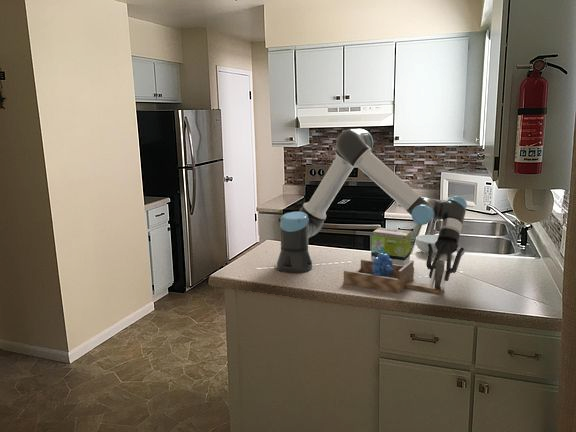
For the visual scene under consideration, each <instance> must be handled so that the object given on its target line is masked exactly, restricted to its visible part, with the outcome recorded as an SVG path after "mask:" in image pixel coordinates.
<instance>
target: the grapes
mask: <svg viewBox="0 0 576 432" xmlns="http://www.w3.org/2000/svg"><path fill="white" fill-rule="evenodd" d="M373 262H374V264H375V265H373V266H372V270H373V272H375V273H374V274H373V275H377V276H383V277H389V278H391V276H390V275H389V274H391V273H392V272H393V269H392V267H391V266H392V264H393V262H392V260H391V259H390V257H389V255H388V254H383V253H379V254H378V257H376V258H374V260H373Z"/></svg>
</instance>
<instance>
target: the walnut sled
mask: <svg viewBox="0 0 576 432" xmlns="http://www.w3.org/2000/svg"><path fill="white" fill-rule="evenodd" d="M373 265H375V264H374V262H373V261H371V260H367V259H360V268H359V269H357V270H356V271H353V270H345V269H344V270H343V284H346V285H352V286H357V287H362V288H367V289H374V290H380V291H384V292H391V293H396V294H400V293H401V292H402V291H403V290H404V289H410V290H411V289H412V290H418V291H421V292H422V291H423V292H428V293H434V294H440V295H442V294H443V292H445V288H444V289H443V290H441V288H440V284H441V280H442V276H443V272H444V270H445V260H441V259H440V260H437V261H436V271H435V281H434V285H433V288H431V287H430V283H426V282H425V283H423V282H417V281H413V280H414V276H415V275H414V274H415V267H414V265H415V264H414V260H413V259H410V262H408V263H407V264H406V265H405V266H402V265H396V264H392V266H391V267H392V269H393V272H392V273H391V274H389V275H390V278H389V277H383V276H377V275H374V273H375V272H373V270H372V266H373Z"/></svg>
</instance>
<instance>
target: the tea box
mask: <svg viewBox="0 0 576 432" xmlns="http://www.w3.org/2000/svg"><path fill="white" fill-rule="evenodd" d="M411 241H412V230H404V229H396V228H395V229H394V228H384V227H378V228H376V229H375V230H374V231H372V232H371V247H370V248H371V250H370V252H371V253H370V261H373V260H374V258H376V257H378V254H379V253H383V254H388V255H389V257H390V259H391V260H392V262H393V264H396V265H402V266H405V265H406V264H407V263H408V262H410V261H411V244H412V242H411Z"/></svg>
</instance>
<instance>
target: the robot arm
mask: <svg viewBox="0 0 576 432" xmlns="http://www.w3.org/2000/svg"><path fill="white" fill-rule="evenodd" d="M335 142H336V143H335V146H336V149H335V159H334V160H333V162H332V163H331V165H330V166H329V168H328V170H327V171H326V173H325V175H324V176H323V178H322V180H321V182H320V183H319V185H318V187H317V188H316V189H315V191H314V193H313V195H312V196H311V198H310V199H309V201H307V202H304V203H303V204H302V206H301V207H300V209H299V211H291V212H285V213H284V214H282V215H281V217H280V222H279V224H280V225H279V226H280V252H279V256H278V258H277V260H276V261H277V262H276V269H277V271H279V272H282V273H288V274H301V273H308V272H310V271H311V270H312V269H313V261H312V258H311V255H310V252H309V239H310V238H312V237H313V236H316V235H317V234H318V233H320V231H322V228H323V226H324V222H325V221H326V219H327V213H326V212H327V210H328V209H329V207H330V206H331V204H332V202H333V201H334V200H335V198H336V196H337V194H338V193H339V191H341V188H342V187H343V185H344V184H345V182H346V180H347V179H348V177H349V175H350V174H351V172H352V171H353V169H354V168H358V169H359V170H360V171H362V173H364V174H365V175H366V176H367V177H368V178H369V179H370V180H372V181H373V182H374V184H376V185H377V186H378V187H379V188H380V189H381V190H383V192H385V193H386V194H387V195H388V196H390V198H391V199H393V200H394V201H395V202H396V203H397V204H398V205H399V206H400V207H401V208H402V209H404V210H405V211H406V212H407V213H408V214H409V215H410V216H411V219H412V220H413V222H414V223H415V224H416V225H420V226H424V225H427V224H429V223H431V222H432V221H433V219H436V220H437V219H438V220H441V225H440V229H439V233H438V239H437V241H436V242H435V244H428V247H429V251H428V254H427V258H426V263H425V264H426V265H425V266H426V268H427V270H429V273H428V277H429V279H430V281H429V284H430V287H431V288H433V285H435V271H436V261H437V260H441V258H442V257H443V255H445V256H446V268H445V269H446V270H445V269H444V272H443V276H442V280H441V284H440V288H441V290H443V289H444V290H445V284H446V282H448V281H449V279H450V277H451V276H450V275H451V274H456V273H457V270H458V267H459V265H460V261H461V258H462V256H463V255H464V254H465V249H464V247H460V246H459V241H460V235H461V232H462V230H463V229H462V228H463V224H464V221H465V216H466V210H467V206H468V204H467V200H465V198H463V197H461V196H458V195H454V196H450V197H448V198H447V200H443V199H436V198H433V197H432V198H431V197H426V196H421V195H419V193H418V192H417V191H416V190H415V191H416V192H415V191H414V189H413V188H412V187H411V186H409V185H408V184H407V183H406V182H405V181H404V180H403V179H401V177H400V176H399V175H397V173H395V172H394V171H392V169H390V168H389V167H388V166H387V165H386V164H385V163H384V162H383V161H381V160H380V159H379V158H378V157H377V156H376V155H375V154H373V153H372V149H373V148H374V139H373V135H371V133H370V132H369V131H368V130H365V129H363V128H359V127H358V128H349V129H345V130H344V131H342V132H341V133H340V134H339V135H338V136H337V138H336V141H335ZM435 247H436V248H437V250H438V251H437V254H436V255H433V250H434V248H435ZM454 252H456V254H455V258H454V261H453V264H452V255H453V253H454ZM433 256H434V259H433Z"/></svg>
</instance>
